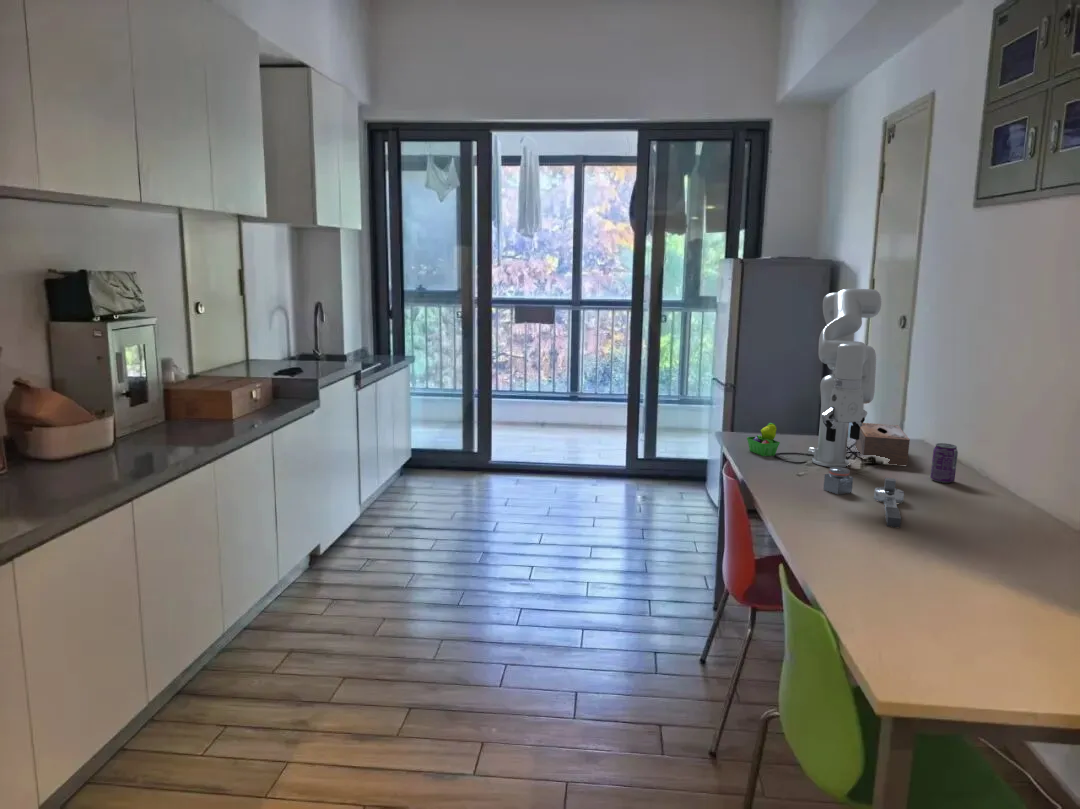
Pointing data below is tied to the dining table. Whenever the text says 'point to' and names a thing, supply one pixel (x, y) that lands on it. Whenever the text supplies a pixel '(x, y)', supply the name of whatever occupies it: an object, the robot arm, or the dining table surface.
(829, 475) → the grey domed block
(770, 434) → the fruit basket
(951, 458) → the beverage can
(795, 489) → the dining table surface
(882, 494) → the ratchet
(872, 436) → the tissue box cover
